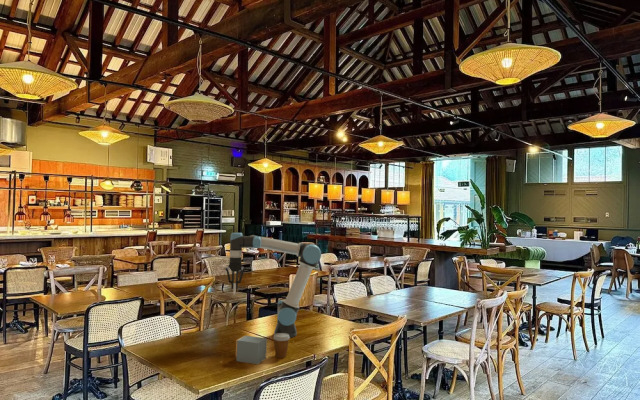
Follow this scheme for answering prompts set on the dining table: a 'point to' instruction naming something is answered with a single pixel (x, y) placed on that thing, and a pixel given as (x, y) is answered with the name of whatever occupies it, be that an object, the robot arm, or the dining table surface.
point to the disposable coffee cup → (281, 344)
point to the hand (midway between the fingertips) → (234, 293)
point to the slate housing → (251, 349)
